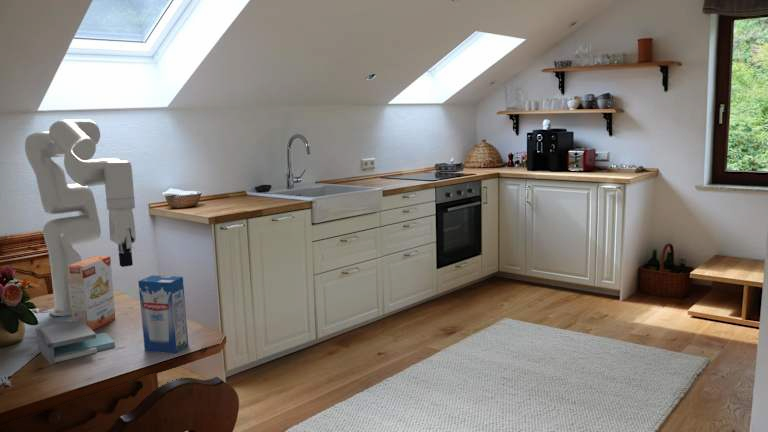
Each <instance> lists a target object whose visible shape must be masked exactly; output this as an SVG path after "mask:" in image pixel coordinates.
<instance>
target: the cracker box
mask: <svg viewBox="0 0 768 432" xmlns="http://www.w3.org/2000/svg"><path fill="white" fill-rule="evenodd" d="M111 261H112V260H111V256H107V255H95V256H91V257H89V258H87V259H86V258H85V259H82V261H80V262H77V263H74V264H71V265H68V266H67V276H68V286H69V297H70V307H71V316H70V317H71V322H73V321H78V320H82V321H83V322H84V323H85V324H86V325H87V326H88V327H89V328H90V329H91V330H92V331H93V332H94V331H95V330H96V329H98V328H100V327H103V326H104V325H107V324H108V323H110V322H112V321H114V320H116V311H115V309H116V307H115V298H114V297H115V296H114V288H113V287H114V286H113V284H114V283H113V275H112V274H113V273H112V272H113V271H112V262H111Z"/></svg>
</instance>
